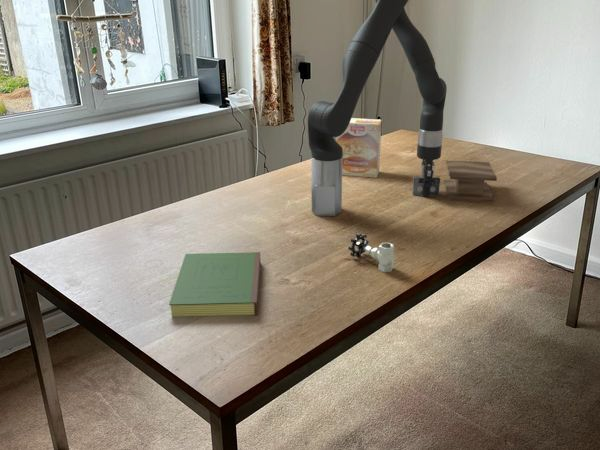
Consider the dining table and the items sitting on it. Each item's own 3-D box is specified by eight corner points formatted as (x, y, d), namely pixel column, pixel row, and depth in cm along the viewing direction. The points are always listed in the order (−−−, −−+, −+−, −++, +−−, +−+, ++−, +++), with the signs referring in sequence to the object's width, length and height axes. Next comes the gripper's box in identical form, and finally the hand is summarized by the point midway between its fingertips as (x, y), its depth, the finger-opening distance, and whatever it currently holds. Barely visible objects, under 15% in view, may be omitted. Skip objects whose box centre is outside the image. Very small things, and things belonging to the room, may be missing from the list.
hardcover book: (257, 317, 130) (256, 302, 129) (170, 319, 130) (169, 304, 128) (260, 264, 153) (260, 250, 152) (187, 265, 153) (186, 252, 151)
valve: (400, 268, 150) (365, 252, 158) (402, 244, 147) (366, 229, 155) (383, 276, 146) (347, 259, 154) (384, 252, 143) (348, 236, 151)
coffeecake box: (335, 175, 214) (336, 121, 206) (338, 168, 221) (339, 116, 213) (377, 178, 211) (379, 123, 203) (379, 171, 217) (382, 118, 209)
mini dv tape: (438, 194, 196) (439, 177, 194) (438, 196, 195) (440, 178, 192) (412, 193, 197) (413, 176, 194) (413, 195, 195) (414, 178, 193)
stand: (493, 201, 189) (496, 177, 186) (448, 199, 191) (450, 176, 188) (486, 184, 204) (488, 162, 201) (444, 182, 206) (446, 160, 202)
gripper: (443, 149, 182) (439, 202, 189) (440, 137, 194) (435, 186, 201) (418, 148, 183) (414, 201, 190) (416, 136, 195) (413, 185, 202)
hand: (425, 193), depth 195 cm, fingers open, 3 cm apart
